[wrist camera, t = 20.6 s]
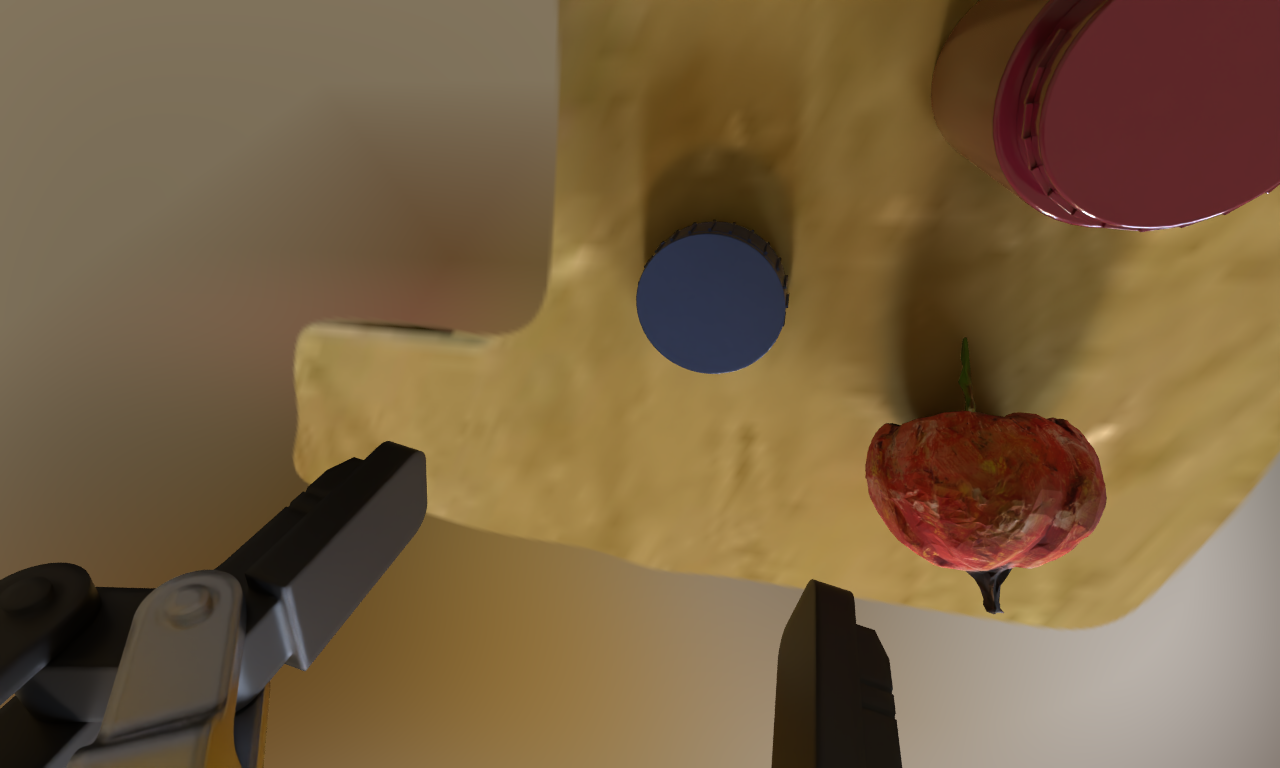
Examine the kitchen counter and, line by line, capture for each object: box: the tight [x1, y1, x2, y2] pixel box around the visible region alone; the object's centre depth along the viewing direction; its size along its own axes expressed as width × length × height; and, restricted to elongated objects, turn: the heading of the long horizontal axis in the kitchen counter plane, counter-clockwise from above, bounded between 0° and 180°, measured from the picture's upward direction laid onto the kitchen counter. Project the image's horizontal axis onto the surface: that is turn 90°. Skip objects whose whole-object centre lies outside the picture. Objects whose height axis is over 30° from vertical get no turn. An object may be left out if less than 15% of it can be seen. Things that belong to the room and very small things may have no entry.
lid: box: [636, 220, 789, 374], centre depth 23 cm, size 6×6×2 cm
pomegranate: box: [865, 337, 1107, 614], centre depth 22 cm, size 7×7×10 cm
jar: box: [931, 0, 1280, 232], centre depth 14 cm, size 5×5×10 cm
